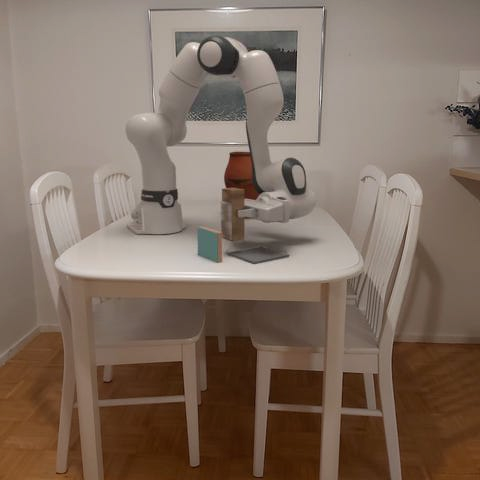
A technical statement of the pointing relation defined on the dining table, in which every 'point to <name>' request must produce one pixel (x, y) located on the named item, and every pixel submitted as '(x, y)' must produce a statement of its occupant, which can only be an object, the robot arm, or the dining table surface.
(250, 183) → the goblet
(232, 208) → the tall wooden block
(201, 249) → the tile
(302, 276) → the dining table surface
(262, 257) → the rest mat
